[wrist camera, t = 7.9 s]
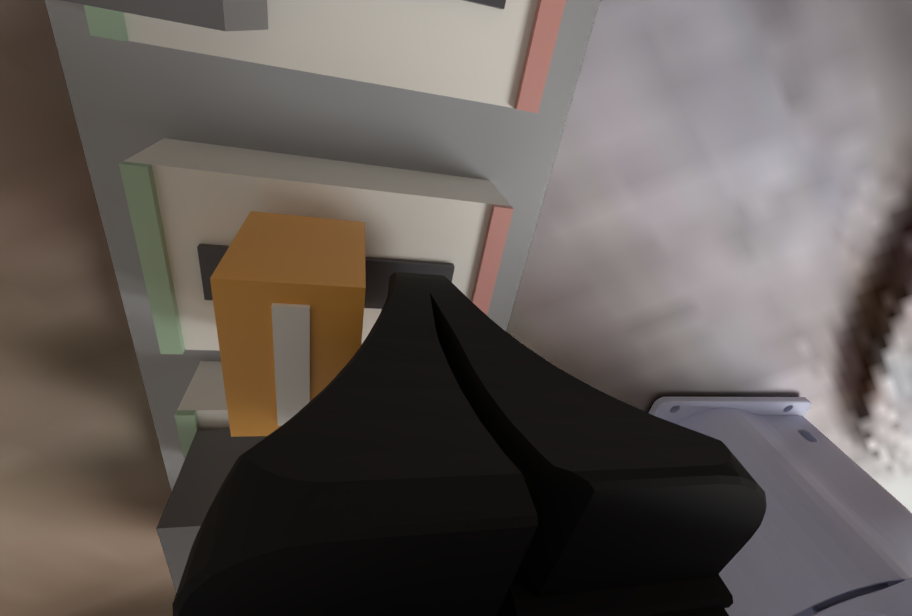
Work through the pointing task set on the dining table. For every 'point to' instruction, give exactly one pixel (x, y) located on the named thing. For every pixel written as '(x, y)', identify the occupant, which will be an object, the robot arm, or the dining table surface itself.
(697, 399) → the robot arm
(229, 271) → the handle
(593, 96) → the dining table surface
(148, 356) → the breaker board
